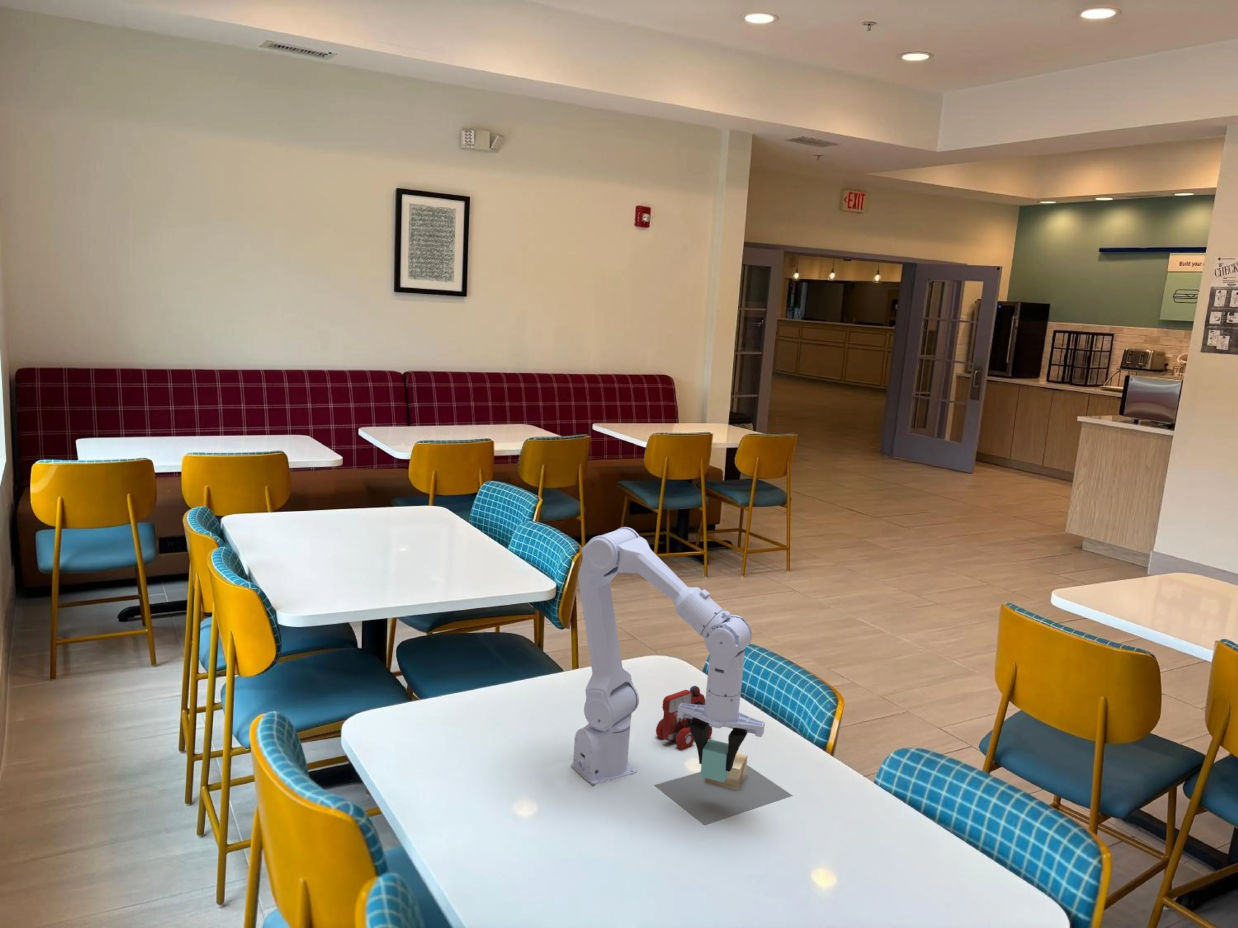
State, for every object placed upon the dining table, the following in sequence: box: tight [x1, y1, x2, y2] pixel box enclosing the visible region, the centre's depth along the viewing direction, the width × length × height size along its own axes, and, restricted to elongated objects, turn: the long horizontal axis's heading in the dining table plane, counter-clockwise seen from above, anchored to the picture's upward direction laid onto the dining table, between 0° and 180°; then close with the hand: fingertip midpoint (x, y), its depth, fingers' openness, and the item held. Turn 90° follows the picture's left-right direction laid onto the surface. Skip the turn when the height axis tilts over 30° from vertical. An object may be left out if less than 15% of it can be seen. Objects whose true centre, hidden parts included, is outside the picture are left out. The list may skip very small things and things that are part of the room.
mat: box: [653, 764, 793, 826], centre depth 164 cm, size 20×14×1 cm
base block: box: [705, 751, 749, 790], centre depth 168 cm, size 6×6×4 cm
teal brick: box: [700, 738, 729, 782], centre depth 157 cm, size 4×4×5 cm
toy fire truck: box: [655, 685, 713, 751], centre depth 182 cm, size 7×12×10 cm, turn 133°
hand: (715, 764), depth 157 cm, fingers closed on teal brick, 4 cm apart
